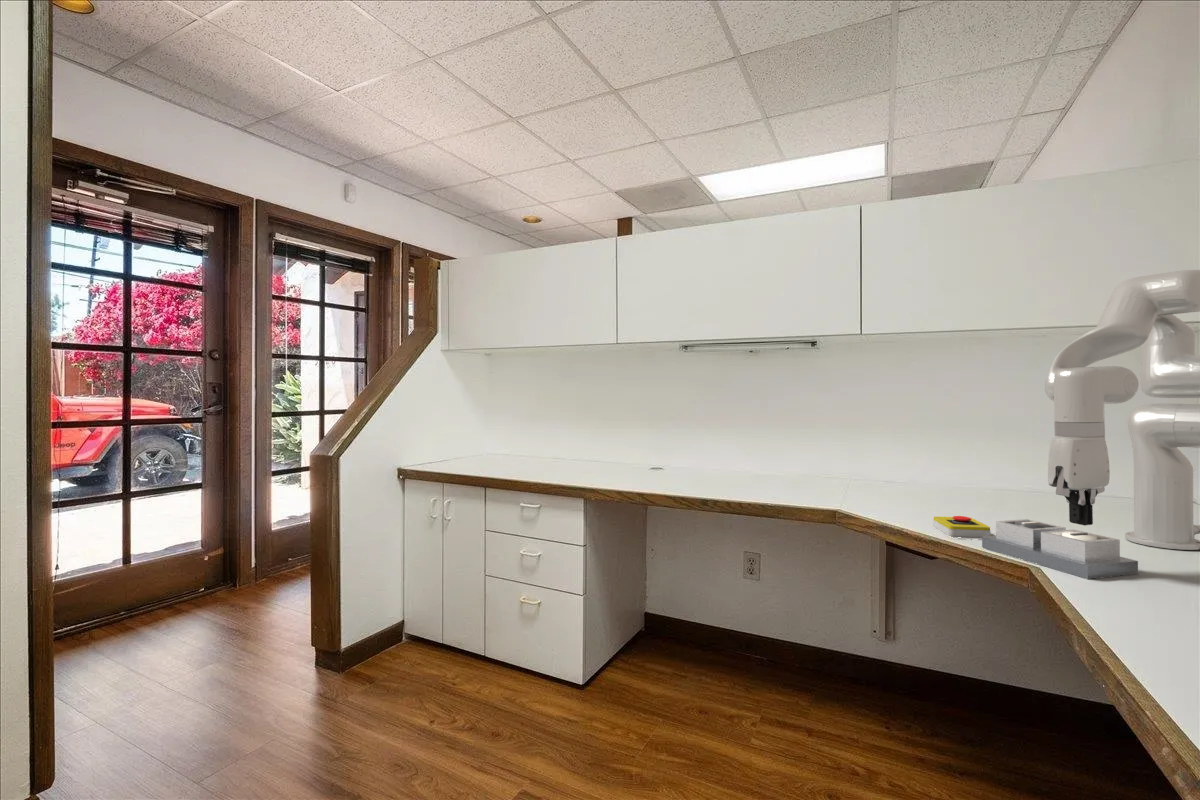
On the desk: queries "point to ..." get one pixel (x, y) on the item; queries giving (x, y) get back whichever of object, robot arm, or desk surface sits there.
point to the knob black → (1030, 524)
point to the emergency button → (961, 527)
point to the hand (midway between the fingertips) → (1080, 523)
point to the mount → (1061, 550)
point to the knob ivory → (1079, 536)
